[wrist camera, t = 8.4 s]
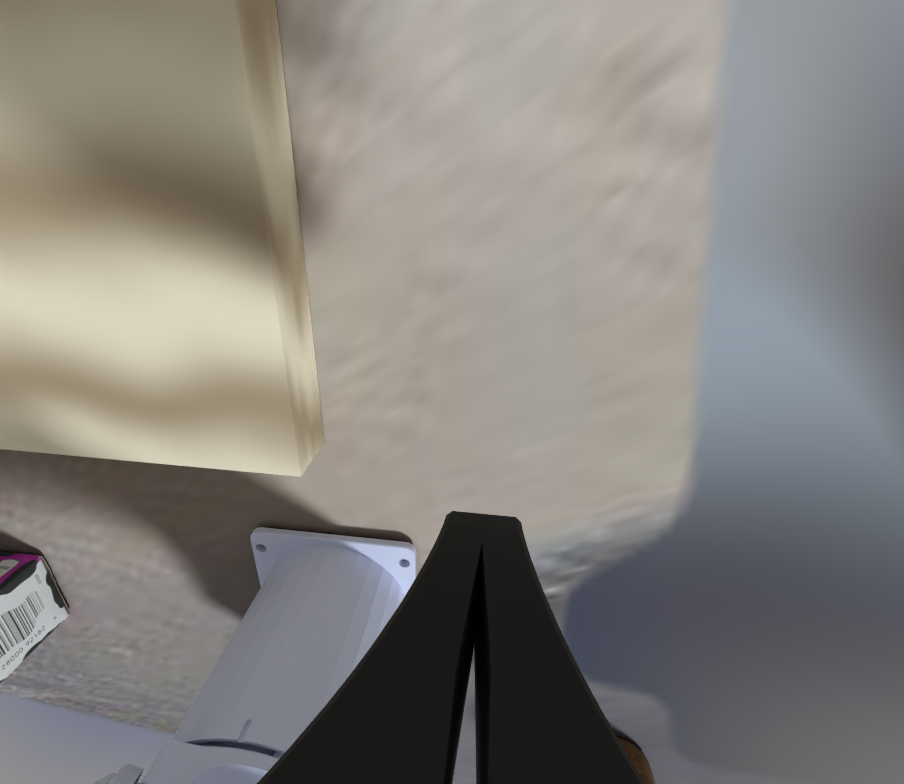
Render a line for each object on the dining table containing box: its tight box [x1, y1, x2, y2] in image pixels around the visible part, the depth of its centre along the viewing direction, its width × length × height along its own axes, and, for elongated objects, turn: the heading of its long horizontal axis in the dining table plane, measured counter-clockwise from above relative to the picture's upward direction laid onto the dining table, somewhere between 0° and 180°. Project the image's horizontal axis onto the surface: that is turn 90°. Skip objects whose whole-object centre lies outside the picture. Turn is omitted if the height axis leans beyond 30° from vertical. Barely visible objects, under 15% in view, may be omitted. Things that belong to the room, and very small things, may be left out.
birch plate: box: [0, 0, 324, 477], centre depth 15 cm, size 18×13×2 cm
